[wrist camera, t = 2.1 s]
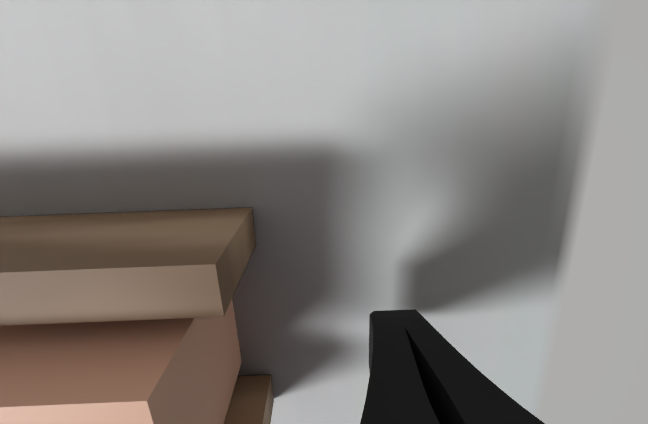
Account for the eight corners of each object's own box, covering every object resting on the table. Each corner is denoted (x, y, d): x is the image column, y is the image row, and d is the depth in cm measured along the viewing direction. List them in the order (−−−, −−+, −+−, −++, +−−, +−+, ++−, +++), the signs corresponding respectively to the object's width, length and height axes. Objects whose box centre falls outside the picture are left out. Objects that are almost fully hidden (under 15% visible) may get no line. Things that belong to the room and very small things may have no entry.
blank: (242, 359, 11) (188, 543, 7) (74, 367, 11) (-100, 556, 7) (227, 260, 10) (146, 401, 5) (38, 268, 10) (-213, 416, 5)
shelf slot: (273, 399, 12) (256, 515, 8) (-103, 415, 12) (-268, 538, 8) (251, 207, 9) (215, 264, 6) (-225, 225, 9) (-528, 293, 6)
